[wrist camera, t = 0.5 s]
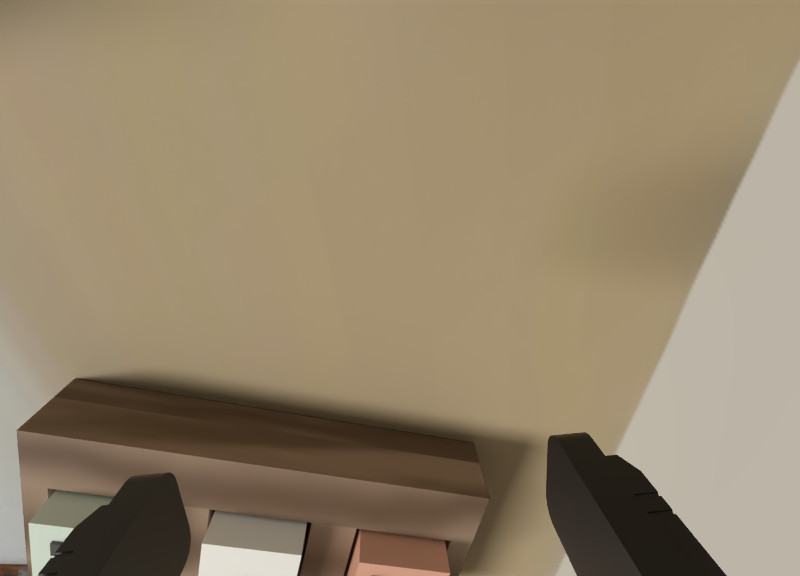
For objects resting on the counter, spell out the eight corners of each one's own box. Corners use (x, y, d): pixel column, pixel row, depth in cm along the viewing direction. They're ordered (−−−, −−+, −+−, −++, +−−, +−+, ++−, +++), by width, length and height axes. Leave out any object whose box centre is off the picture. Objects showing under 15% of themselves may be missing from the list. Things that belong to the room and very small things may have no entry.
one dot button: (221, 493, 28) (200, 546, 25) (309, 505, 29) (301, 558, 26) (213, 555, 30) (193, 612, 27) (296, 565, 31) (286, 621, 28)
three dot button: (361, 512, 29) (359, 565, 26) (442, 523, 30) (450, 576, 27) (344, 570, 31) (341, 627, 28) (421, 579, 32) (426, 635, 29)
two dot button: (70, 473, 27) (25, 526, 24) (165, 486, 28) (136, 539, 24) (71, 539, 29) (31, 596, 26) (161, 549, 30) (133, 606, 26)
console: (74, 378, 29) (16, 430, 24) (473, 443, 32) (490, 499, 28) (78, 534, 33) (30, 602, 29) (424, 575, 37) (431, 641, 32)
